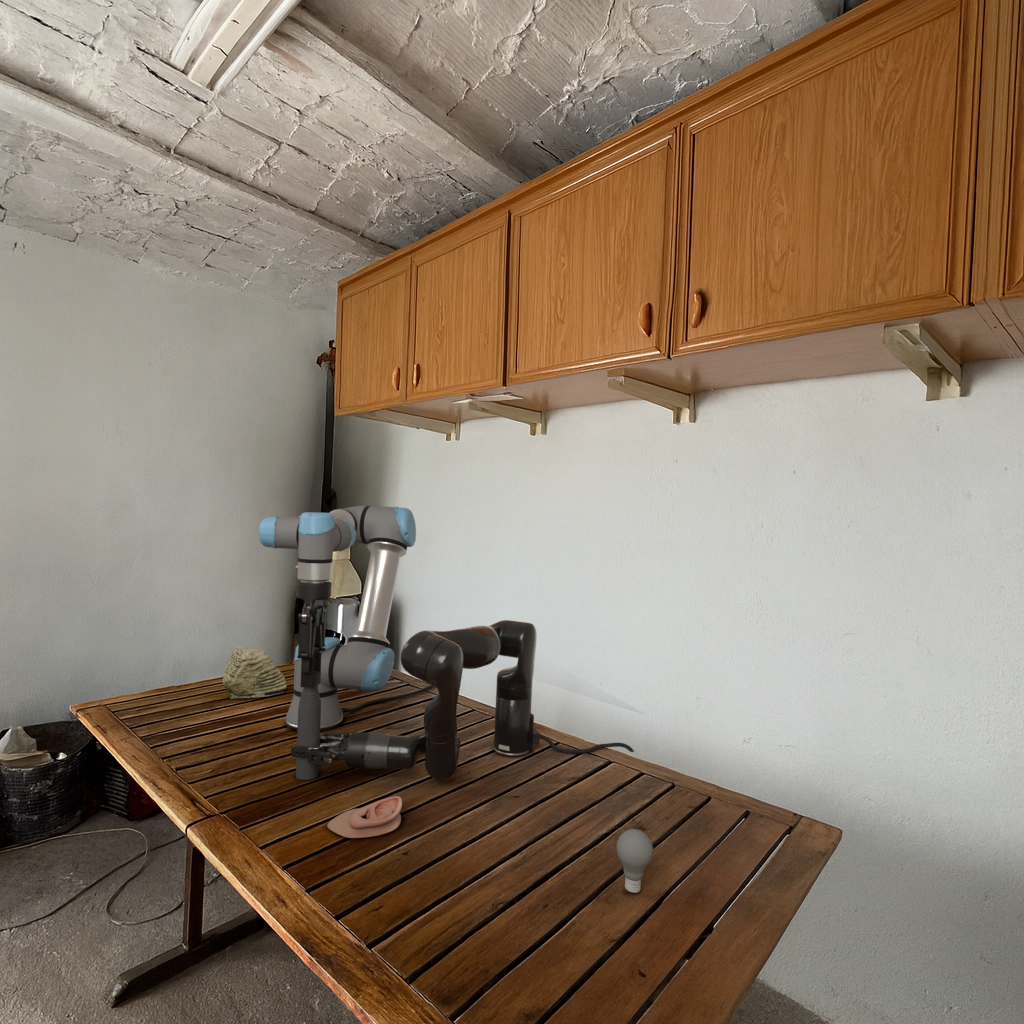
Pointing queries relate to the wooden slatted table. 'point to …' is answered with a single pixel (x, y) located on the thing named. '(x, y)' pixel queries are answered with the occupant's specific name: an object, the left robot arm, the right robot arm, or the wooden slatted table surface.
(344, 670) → the left robot arm
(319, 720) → the bottle
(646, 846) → the light bulb
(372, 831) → the anatomical model
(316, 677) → the cap
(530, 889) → the wooden slatted table surface
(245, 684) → the fossil
